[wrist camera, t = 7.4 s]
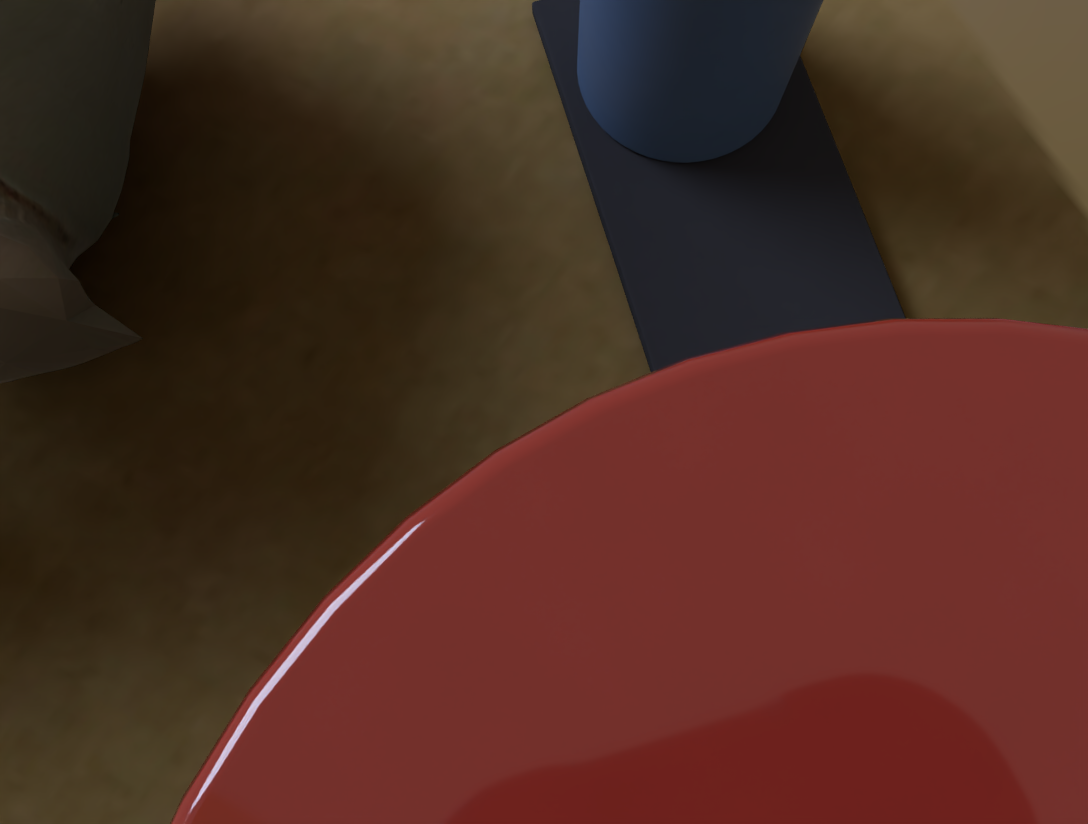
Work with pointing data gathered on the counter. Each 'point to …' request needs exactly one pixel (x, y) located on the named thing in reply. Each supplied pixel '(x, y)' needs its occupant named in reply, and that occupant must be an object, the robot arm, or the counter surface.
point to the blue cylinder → (688, 70)
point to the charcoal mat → (727, 223)
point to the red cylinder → (717, 606)
